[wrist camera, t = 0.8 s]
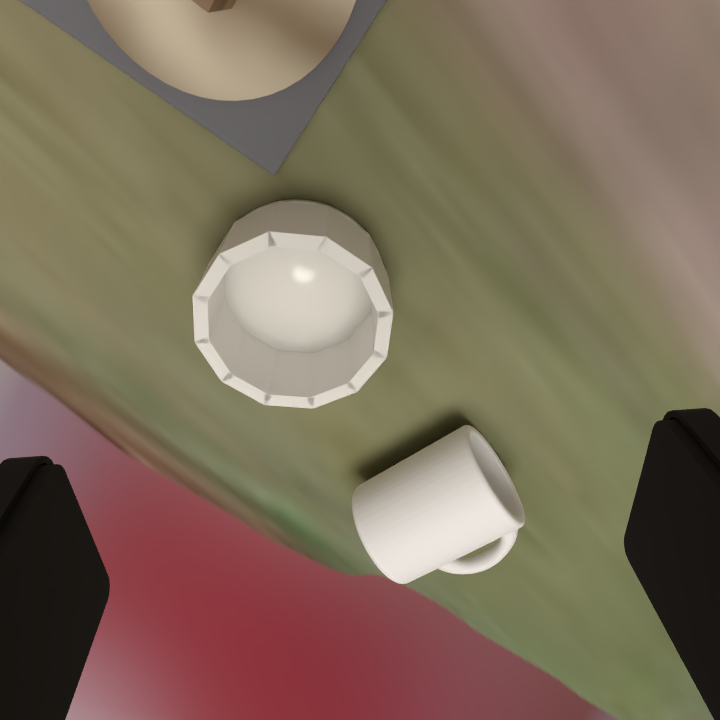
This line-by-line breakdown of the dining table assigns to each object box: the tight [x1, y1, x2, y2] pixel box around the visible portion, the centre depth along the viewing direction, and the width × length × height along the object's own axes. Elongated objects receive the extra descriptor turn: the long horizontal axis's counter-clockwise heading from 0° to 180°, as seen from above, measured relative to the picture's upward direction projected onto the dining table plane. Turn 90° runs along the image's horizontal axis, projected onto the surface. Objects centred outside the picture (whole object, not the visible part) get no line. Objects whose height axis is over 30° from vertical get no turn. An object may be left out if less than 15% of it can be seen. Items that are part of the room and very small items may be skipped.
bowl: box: [193, 199, 393, 408], centre depth 36 cm, size 11×11×6 cm
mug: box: [352, 425, 525, 584], centre depth 45 cm, size 12×10×8 cm
